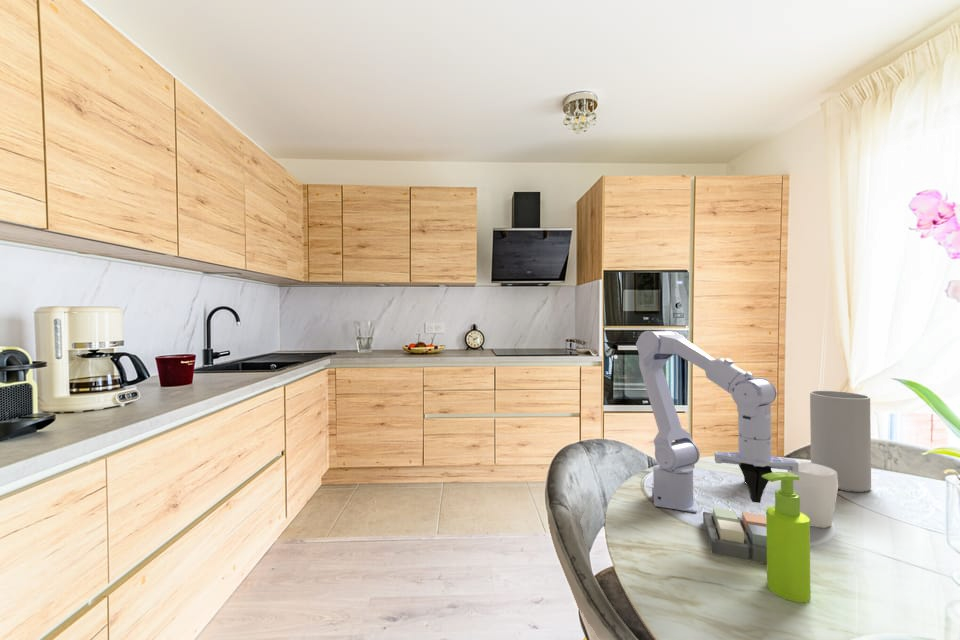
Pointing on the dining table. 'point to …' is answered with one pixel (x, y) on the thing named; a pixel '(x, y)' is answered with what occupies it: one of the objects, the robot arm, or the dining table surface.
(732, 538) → the ivory key
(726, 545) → the grey divided tray
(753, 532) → the slate key
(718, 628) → the dining table surface
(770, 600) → the dining table surface
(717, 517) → the sage key
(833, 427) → the cylinder vase
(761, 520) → the terracotta key
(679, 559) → the dining table surface
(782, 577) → the soap dispenser
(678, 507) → the robot arm
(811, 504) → the cup
